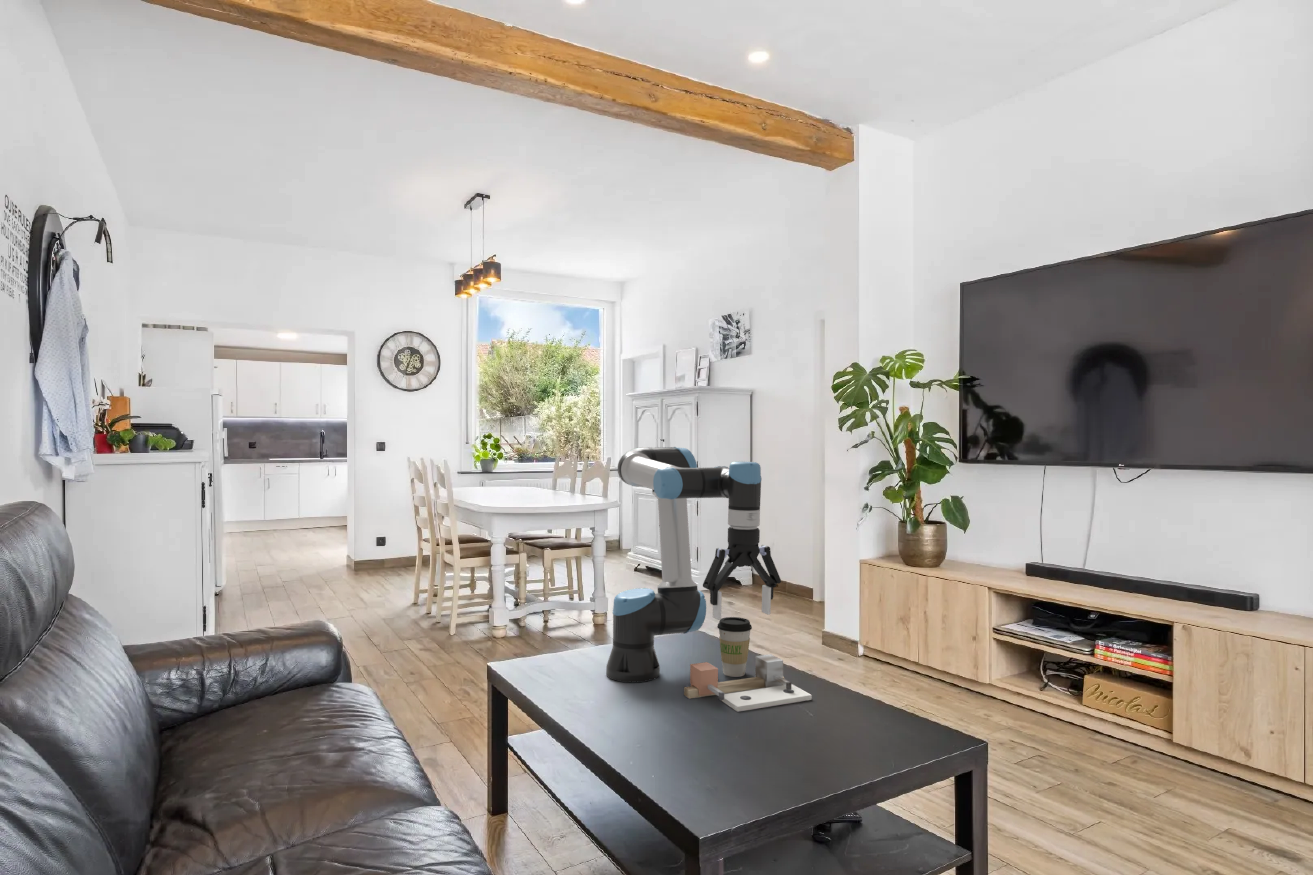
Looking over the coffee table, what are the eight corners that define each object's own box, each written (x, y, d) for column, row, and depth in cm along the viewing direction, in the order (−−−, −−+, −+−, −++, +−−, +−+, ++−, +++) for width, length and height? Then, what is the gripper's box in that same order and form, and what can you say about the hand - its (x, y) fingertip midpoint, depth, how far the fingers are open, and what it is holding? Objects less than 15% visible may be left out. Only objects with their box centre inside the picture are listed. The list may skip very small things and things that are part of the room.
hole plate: (719, 699, 192) (719, 694, 192) (791, 688, 201) (791, 683, 201) (737, 711, 184) (737, 706, 184) (811, 699, 193) (811, 694, 193)
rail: (681, 692, 196) (681, 665, 196) (775, 679, 208) (775, 653, 208) (704, 710, 184) (705, 681, 184) (802, 694, 196) (803, 667, 196)
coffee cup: (710, 670, 215) (711, 618, 215) (739, 666, 220) (740, 615, 219) (727, 680, 207) (728, 626, 206) (758, 676, 211) (758, 623, 211)
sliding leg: (690, 688, 197) (690, 664, 197) (706, 686, 199) (707, 661, 199) (713, 705, 185) (714, 679, 185) (731, 702, 187) (731, 676, 187)
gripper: (705, 531, 169) (703, 625, 169) (796, 526, 179) (794, 614, 180) (689, 526, 175) (687, 616, 176) (778, 522, 186) (776, 607, 186)
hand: (741, 615), depth 178 cm, fingers open, 13 cm apart
